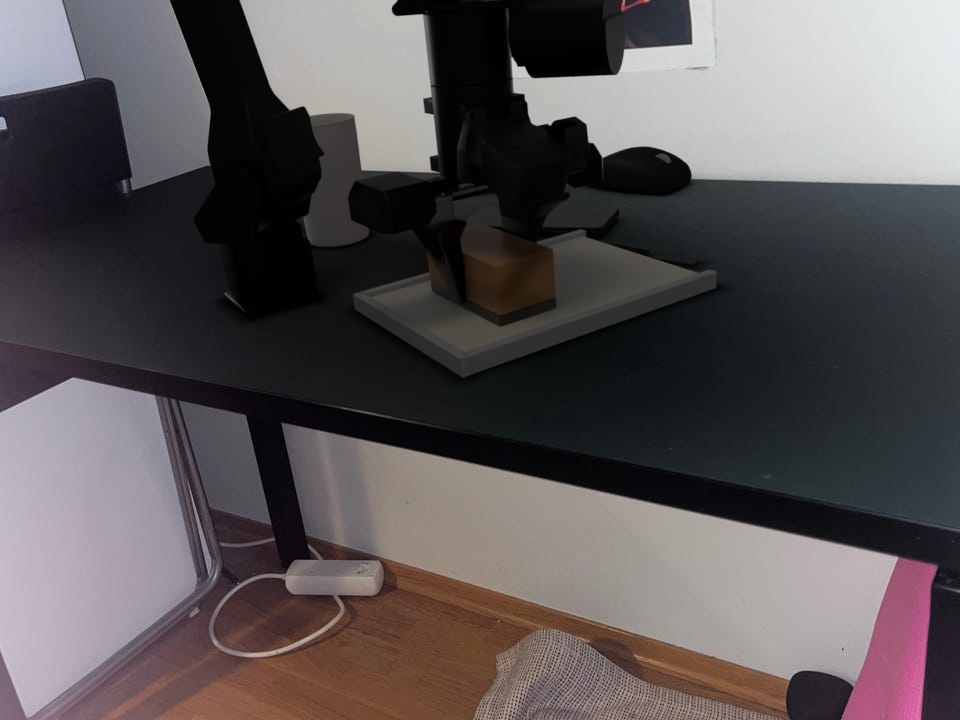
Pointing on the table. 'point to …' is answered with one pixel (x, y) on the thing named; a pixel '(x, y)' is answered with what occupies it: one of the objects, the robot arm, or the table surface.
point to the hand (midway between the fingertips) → (490, 293)
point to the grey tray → (579, 310)
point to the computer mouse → (644, 171)
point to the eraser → (502, 275)
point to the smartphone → (556, 220)
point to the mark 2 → (676, 260)
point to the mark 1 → (633, 248)
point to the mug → (335, 182)
